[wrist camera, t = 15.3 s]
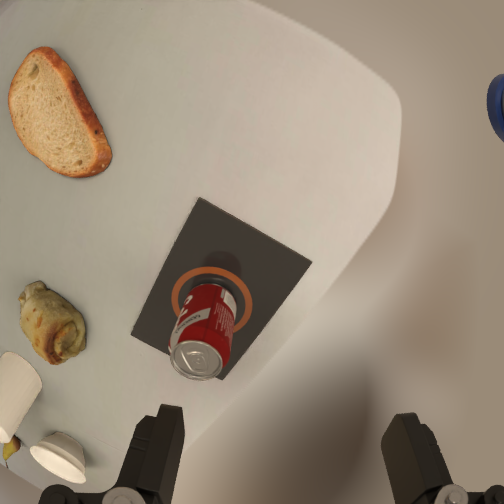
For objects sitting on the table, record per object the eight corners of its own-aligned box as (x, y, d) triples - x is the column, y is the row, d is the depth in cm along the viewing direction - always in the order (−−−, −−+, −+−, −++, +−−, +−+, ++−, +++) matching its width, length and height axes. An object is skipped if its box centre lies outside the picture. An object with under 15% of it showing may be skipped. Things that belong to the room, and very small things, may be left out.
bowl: (107, 460, 63) (98, 485, 55) (71, 459, 66) (61, 481, 58) (65, 421, 58) (51, 447, 50) (32, 423, 61) (19, 446, 53)
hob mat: (199, 196, 38) (198, 197, 38) (312, 261, 41) (312, 262, 40) (131, 333, 46) (130, 335, 46) (222, 379, 49) (222, 380, 49)
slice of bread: (110, 180, 37) (97, 186, 34) (11, 170, 37) (-5, 176, 33) (129, 40, 31) (116, 33, 27) (23, 52, 30) (7, 49, 27)
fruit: (14, 431, 65) (-2, 458, 54) (25, 444, 67) (11, 470, 56) (5, 430, 66) (-10, 455, 55) (16, 442, 68) (2, 467, 57)
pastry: (101, 350, 48) (82, 382, 41) (50, 350, 49) (29, 377, 42) (69, 274, 43) (41, 301, 35) (18, 282, 44) (-10, 305, 37)
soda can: (233, 278, 42) (223, 335, 30) (239, 322, 44) (232, 384, 33) (182, 282, 42) (157, 337, 31) (192, 324, 45) (172, 384, 33)
